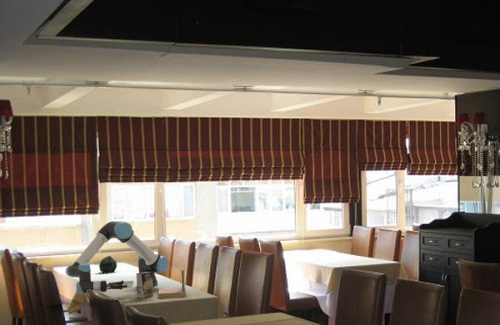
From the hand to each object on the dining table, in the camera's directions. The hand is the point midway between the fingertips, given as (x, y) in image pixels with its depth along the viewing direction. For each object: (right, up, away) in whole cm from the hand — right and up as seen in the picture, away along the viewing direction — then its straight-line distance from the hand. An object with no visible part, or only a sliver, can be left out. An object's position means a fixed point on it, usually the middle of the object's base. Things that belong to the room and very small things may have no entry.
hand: (132, 284), depth 479 cm
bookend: (+33, -4, +4) cm, 34 cm away
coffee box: (+8, -9, +1) cm, 12 cm away
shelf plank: (+26, -8, +3) cm, 27 cm away
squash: (-44, -14, +141) cm, 148 cm away
